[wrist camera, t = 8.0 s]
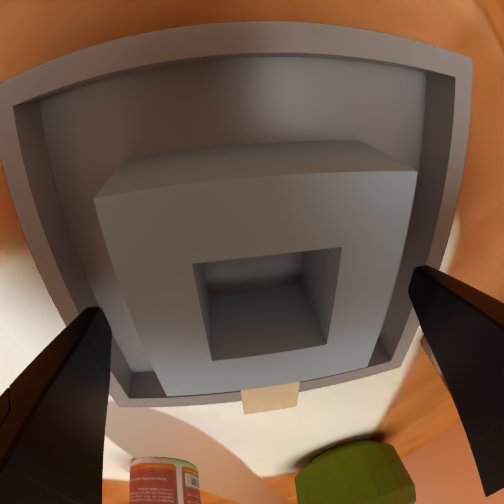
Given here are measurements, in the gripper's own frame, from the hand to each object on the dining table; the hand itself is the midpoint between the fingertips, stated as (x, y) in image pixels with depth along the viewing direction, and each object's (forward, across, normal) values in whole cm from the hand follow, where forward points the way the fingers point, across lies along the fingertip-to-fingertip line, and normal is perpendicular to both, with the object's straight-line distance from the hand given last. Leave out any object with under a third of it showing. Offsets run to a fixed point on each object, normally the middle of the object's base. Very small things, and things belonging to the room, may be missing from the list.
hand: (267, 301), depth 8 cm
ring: (+3, 0, 0) cm, 3 cm away
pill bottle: (+3, +9, +22) cm, 24 cm away
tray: (+3, 0, 0) cm, 3 cm away
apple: (+4, -8, +26) cm, 27 cm away
